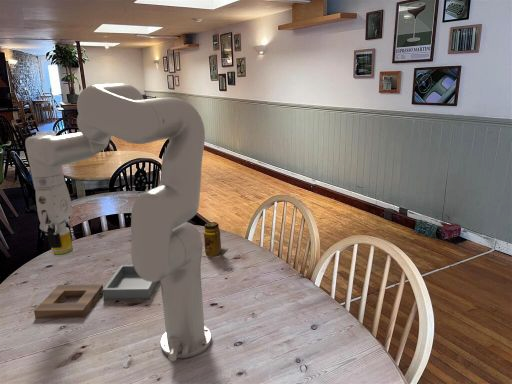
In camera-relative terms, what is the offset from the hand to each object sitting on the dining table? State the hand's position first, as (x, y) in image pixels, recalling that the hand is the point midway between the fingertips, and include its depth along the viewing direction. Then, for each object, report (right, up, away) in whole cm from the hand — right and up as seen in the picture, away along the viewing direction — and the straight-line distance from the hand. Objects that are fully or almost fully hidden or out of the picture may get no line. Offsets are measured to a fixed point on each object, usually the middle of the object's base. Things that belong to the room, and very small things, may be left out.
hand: (61, 242), depth 111 cm
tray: (+16, -16, +15) cm, 27 cm away
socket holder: (0, -19, +6) cm, 20 cm away
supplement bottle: (0, -4, +1) cm, 4 cm away
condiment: (+40, -9, +38) cm, 55 cm away
